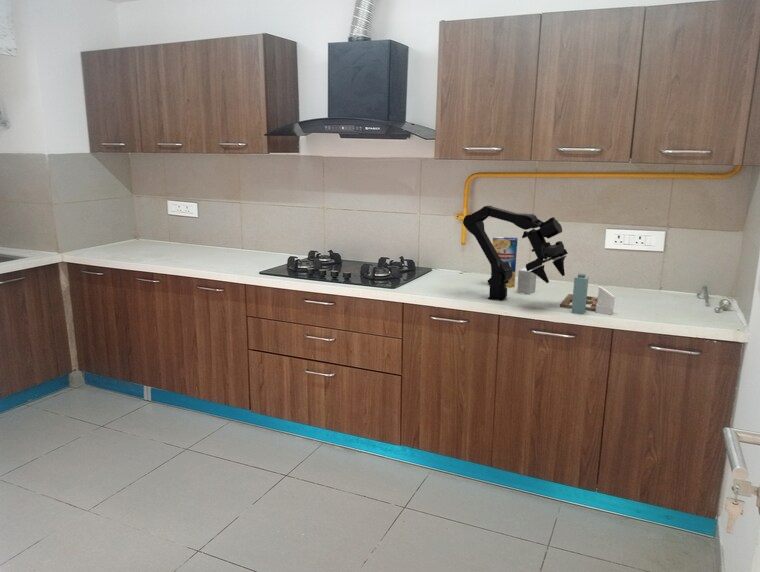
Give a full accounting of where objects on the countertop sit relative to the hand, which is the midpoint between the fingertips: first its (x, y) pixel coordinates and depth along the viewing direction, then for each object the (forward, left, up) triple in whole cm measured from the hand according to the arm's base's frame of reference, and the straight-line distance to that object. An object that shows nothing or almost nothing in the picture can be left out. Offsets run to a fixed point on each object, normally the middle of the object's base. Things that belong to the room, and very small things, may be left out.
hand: (555, 279), depth 228 cm
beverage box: (-29, +29, -12) cm, 43 cm away
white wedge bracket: (+19, +3, -12) cm, 23 cm away
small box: (-16, +21, -12) cm, 29 cm away
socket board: (+9, +13, -12) cm, 19 cm away
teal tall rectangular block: (+10, -1, -12) cm, 15 cm away
